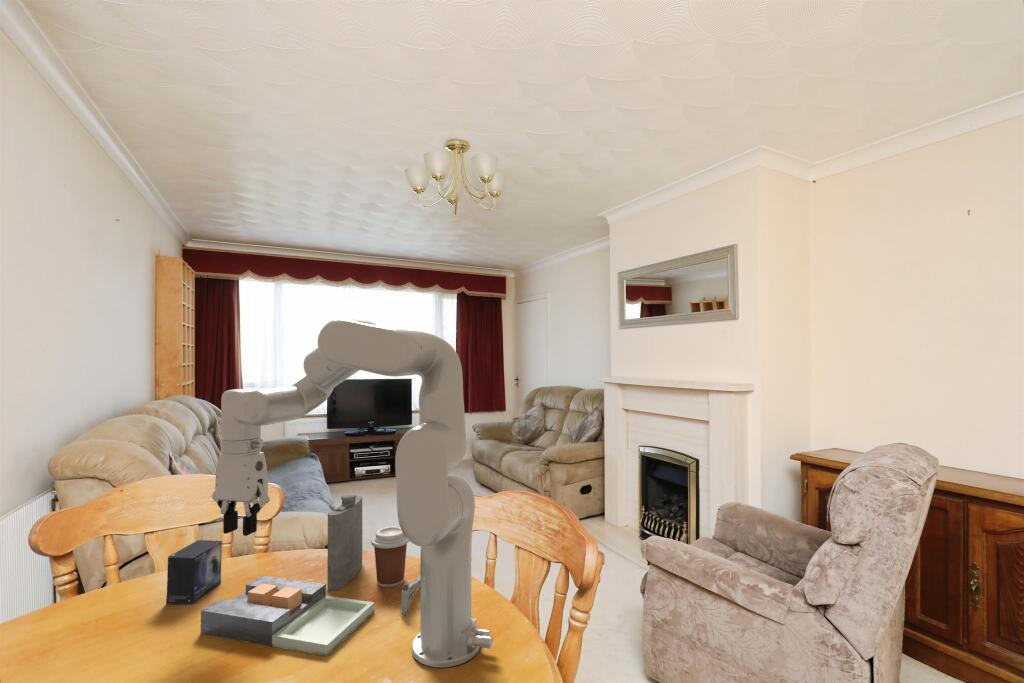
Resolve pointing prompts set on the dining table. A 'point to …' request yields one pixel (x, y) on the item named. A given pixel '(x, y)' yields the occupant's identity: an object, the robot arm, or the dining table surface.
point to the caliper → (408, 594)
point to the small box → (193, 571)
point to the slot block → (257, 612)
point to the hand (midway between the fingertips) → (240, 531)
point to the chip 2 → (287, 598)
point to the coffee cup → (390, 556)
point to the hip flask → (344, 541)
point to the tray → (323, 625)
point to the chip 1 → (262, 594)
